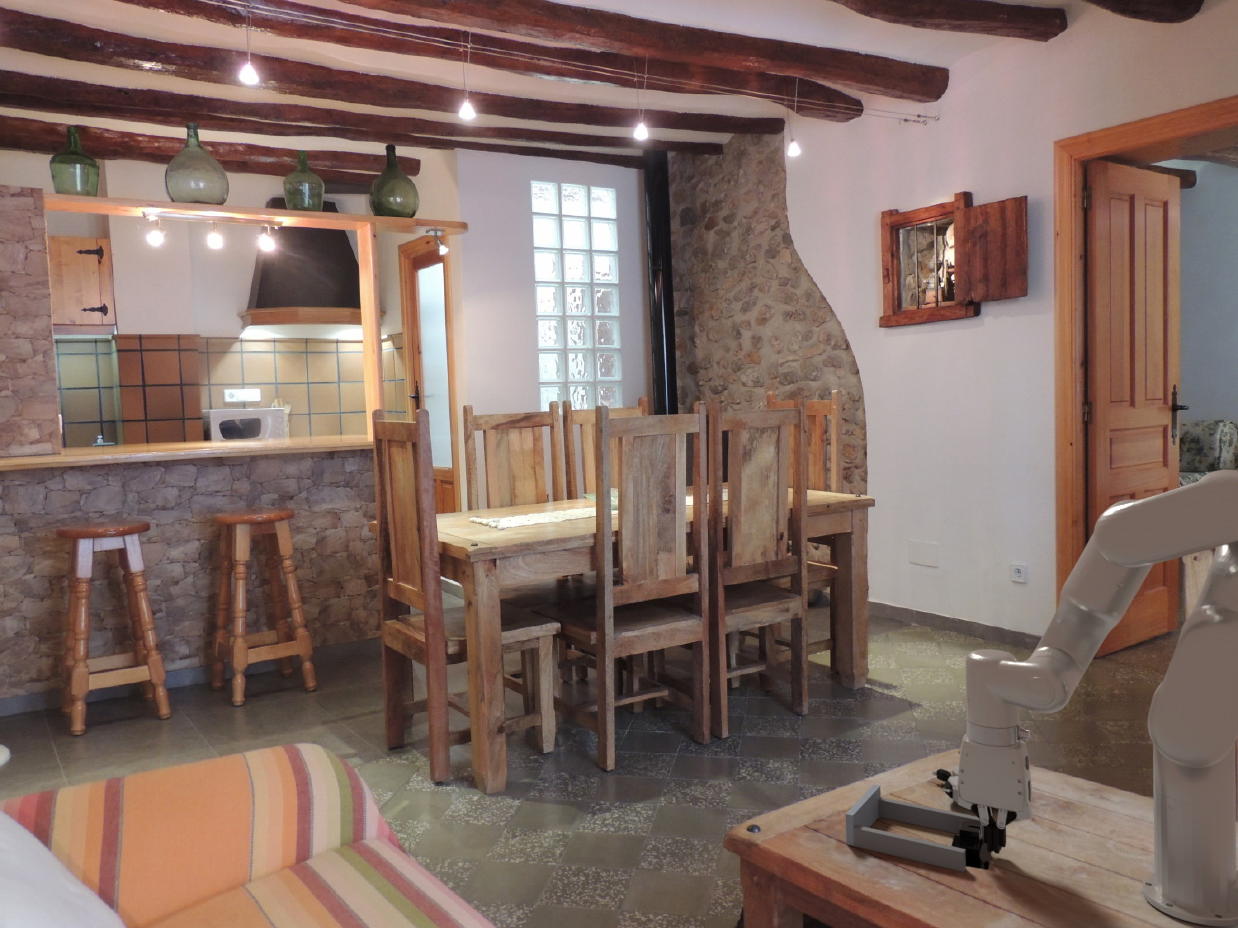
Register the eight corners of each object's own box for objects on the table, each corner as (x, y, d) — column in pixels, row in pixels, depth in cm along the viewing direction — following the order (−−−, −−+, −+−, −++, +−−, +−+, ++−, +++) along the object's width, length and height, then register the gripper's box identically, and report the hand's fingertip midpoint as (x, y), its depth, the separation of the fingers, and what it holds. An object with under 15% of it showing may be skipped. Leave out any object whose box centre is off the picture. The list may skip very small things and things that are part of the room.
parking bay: (984, 836, 146) (983, 805, 146) (964, 872, 135) (963, 839, 134) (874, 812, 156) (873, 784, 156) (846, 844, 145) (845, 813, 145)
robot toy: (928, 785, 169) (949, 814, 154) (927, 761, 169) (948, 787, 154) (996, 785, 168) (1024, 814, 153) (995, 761, 168) (1022, 787, 153)
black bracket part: (991, 878, 134) (991, 847, 134) (940, 868, 137) (939, 839, 137) (998, 841, 145) (997, 813, 145) (950, 833, 148) (949, 806, 148)
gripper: (1050, 732, 137) (1052, 850, 137) (949, 717, 145) (951, 828, 146) (1041, 748, 130) (1043, 871, 131) (936, 731, 139) (938, 847, 140)
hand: (995, 848), depth 138 cm, fingers closed
